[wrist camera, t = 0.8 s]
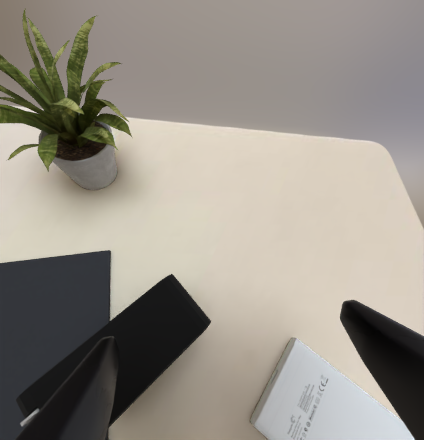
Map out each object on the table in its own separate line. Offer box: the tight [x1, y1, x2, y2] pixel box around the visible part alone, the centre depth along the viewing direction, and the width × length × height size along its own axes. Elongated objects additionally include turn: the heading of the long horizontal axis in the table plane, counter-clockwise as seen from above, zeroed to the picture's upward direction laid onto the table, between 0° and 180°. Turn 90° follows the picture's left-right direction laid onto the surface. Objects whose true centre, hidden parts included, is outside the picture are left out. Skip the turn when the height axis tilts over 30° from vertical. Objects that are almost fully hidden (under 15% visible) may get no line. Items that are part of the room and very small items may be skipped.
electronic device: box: [16, 274, 211, 428], centre depth 17 cm, size 4×10×10 cm, turn 132°
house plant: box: [0, 10, 132, 190], centre depth 22 cm, size 14×14×16 cm
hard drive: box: [250, 338, 415, 440], centre depth 20 cm, size 2×8×12 cm
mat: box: [0, 250, 111, 440], centre depth 20 cm, size 20×13×1 cm, turn 10°
